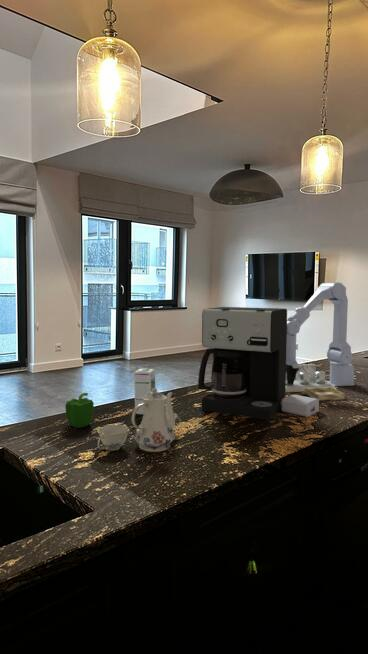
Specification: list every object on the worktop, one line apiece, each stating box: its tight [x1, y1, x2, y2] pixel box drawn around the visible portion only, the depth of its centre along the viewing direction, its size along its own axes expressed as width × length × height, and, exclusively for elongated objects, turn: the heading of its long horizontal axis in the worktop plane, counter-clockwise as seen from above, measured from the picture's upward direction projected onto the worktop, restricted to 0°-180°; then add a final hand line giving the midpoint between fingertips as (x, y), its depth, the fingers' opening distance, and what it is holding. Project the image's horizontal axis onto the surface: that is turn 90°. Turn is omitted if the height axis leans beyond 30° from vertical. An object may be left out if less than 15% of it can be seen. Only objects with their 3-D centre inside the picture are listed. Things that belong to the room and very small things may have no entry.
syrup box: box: [133, 367, 156, 415], centre depth 152 cm, size 6×6×14 cm
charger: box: [280, 394, 320, 418], centre depth 154 cm, size 5×9×15 cm
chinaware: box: [96, 386, 182, 453], centre depth 122 cm, size 28×17×17 cm, turn 141°
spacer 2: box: [298, 372, 310, 385], centre depth 186 cm, size 4×4×4 cm
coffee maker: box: [197, 306, 288, 421], centre depth 157 cm, size 28×20×35 cm
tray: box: [304, 387, 346, 401], centre depth 174 cm, size 11×11×2 cm
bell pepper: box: [64, 392, 95, 429], centre depth 137 cm, size 8×8×10 cm
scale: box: [285, 363, 336, 393], centre depth 188 cm, size 22×13×8 cm, turn 100°
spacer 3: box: [314, 370, 326, 384], centre depth 188 cm, size 4×4×4 cm
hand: (288, 382), depth 185 cm, fingers closed on spacer 1, 4 cm apart
